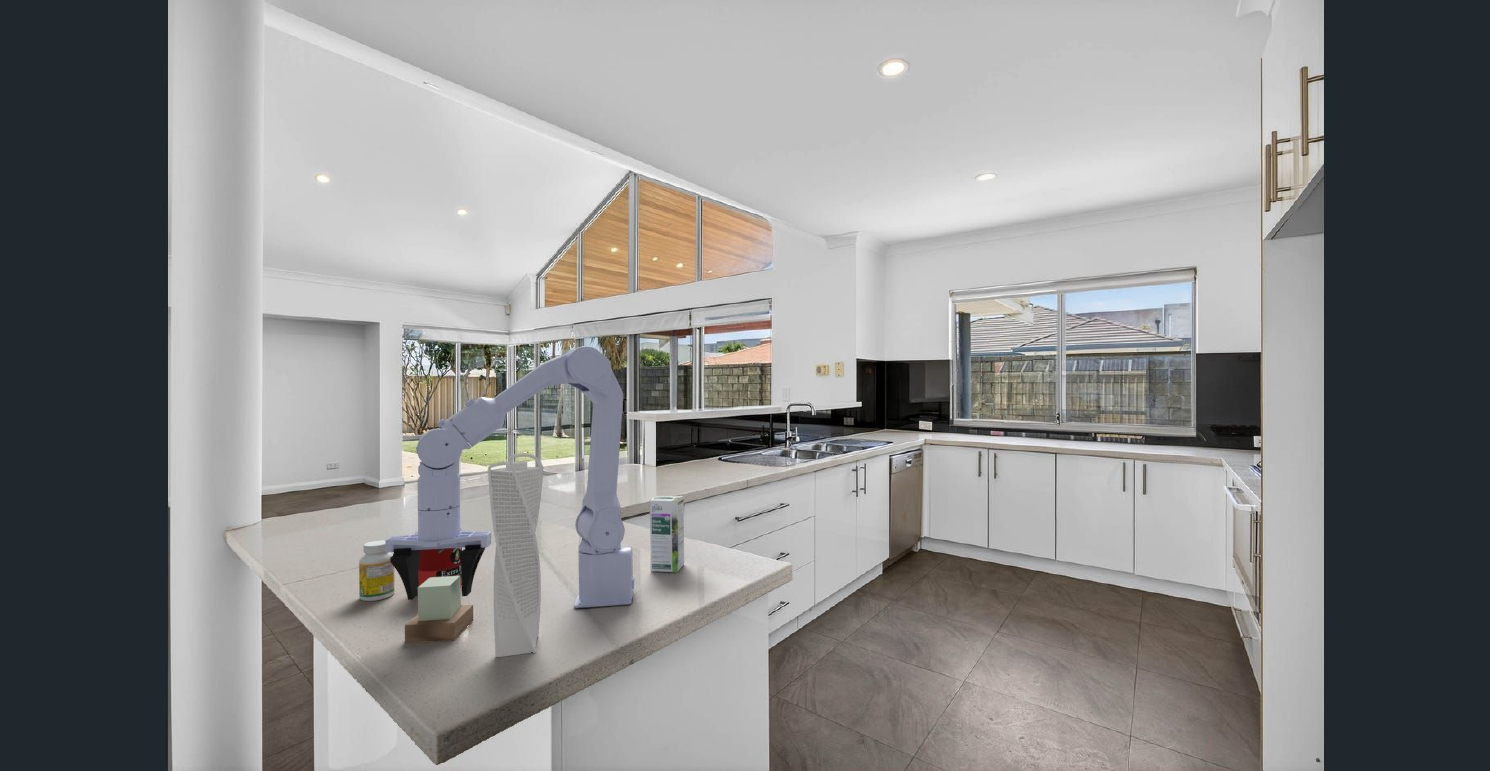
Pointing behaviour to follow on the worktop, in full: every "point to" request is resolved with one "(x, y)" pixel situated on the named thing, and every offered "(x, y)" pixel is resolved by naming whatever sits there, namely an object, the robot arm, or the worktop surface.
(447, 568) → the canned food
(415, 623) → the walnut block
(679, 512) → the syrup box
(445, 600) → the sage block
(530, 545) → the skyscraper
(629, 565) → the robot arm
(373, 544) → the supplement bottle
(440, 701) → the worktop surface
